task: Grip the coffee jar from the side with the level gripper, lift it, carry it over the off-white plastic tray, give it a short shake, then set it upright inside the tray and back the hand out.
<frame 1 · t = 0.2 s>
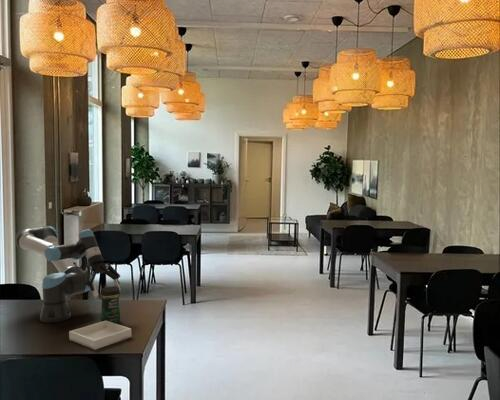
hand: (108, 293, 241), 15 cm above the table, tool tilted 35°, fingers open, 13 cm apart
tray: (100, 338, 219), on the table
coffee jar: (110, 322, 242), on the table
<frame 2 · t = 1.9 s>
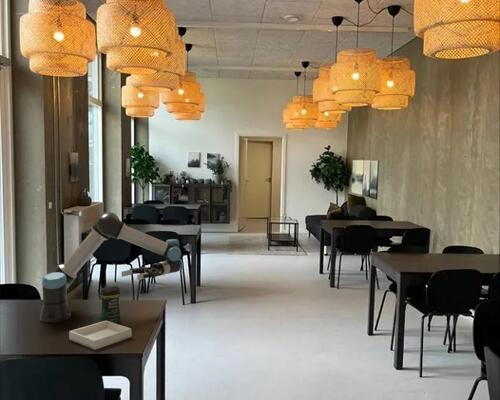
hand: (129, 275, 251), 22 cm above the table, tool horizontal, fingers open, 13 cm apart
nothing on the table moved.
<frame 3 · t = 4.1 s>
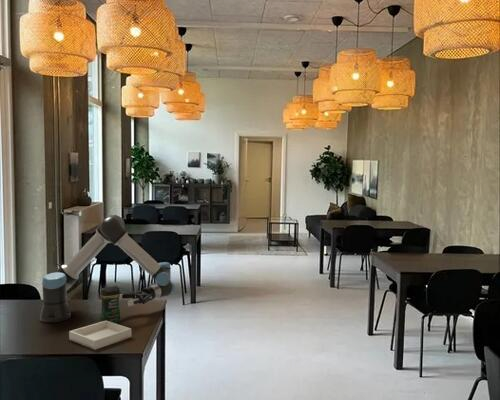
hand: (119, 301, 246), 10 cm above the table, tool horizontal, fingers open, 13 cm apart
nothing on the table moved.
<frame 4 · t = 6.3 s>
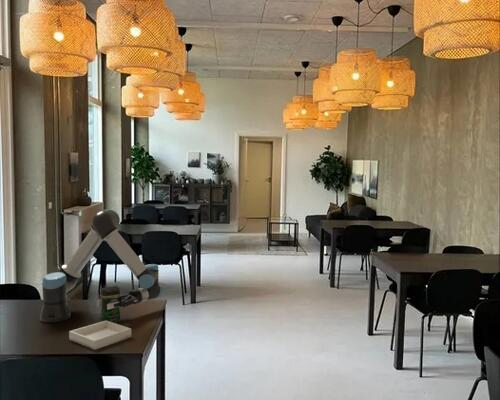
hand: (102, 305, 238), 10 cm above the table, tool horizontal, fingers closed on coffee jar, 8 cm apart
coffee jar: (110, 322, 242), on the table, touching gripper
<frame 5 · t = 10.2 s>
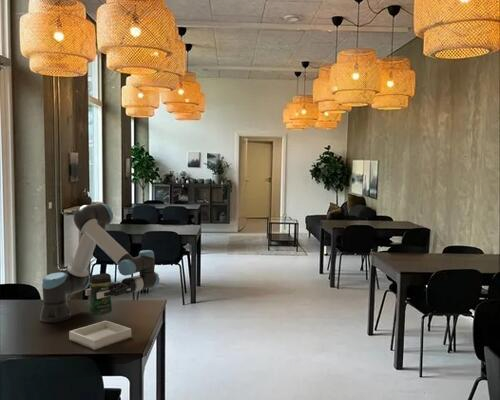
hand: (91, 294, 214), 22 cm above the table, tool horizontal, fingers closed on coffee jar, 8 cm apart
coffee jar: (101, 313, 218), point 12 cm above the table, touching gripper
when the fingers open (12 cm above the table, at t = 14.1 s): coffee jar drops 1 cm, resting on tray.
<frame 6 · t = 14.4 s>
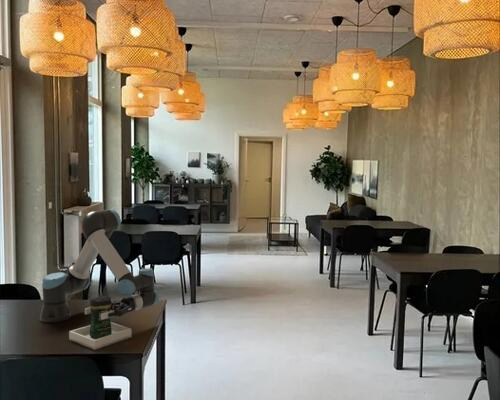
hand: (93, 314, 215), 12 cm above the table, tool horizontal, fingers open, 12 cm apart
coffee jar: (100, 336, 219), point 1 cm above the table, touching tray
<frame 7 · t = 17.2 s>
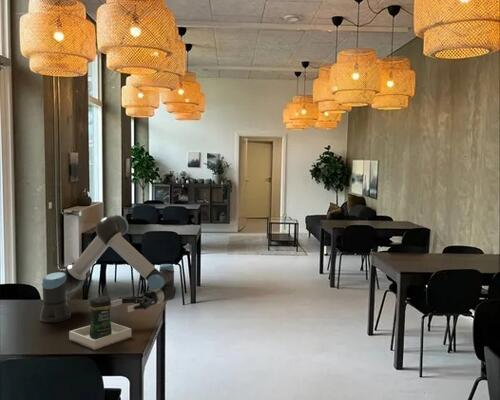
hand: (119, 306, 227), 13 cm above the table, tool horizontal, fingers open, 13 cm apart
nothing on the table moved.
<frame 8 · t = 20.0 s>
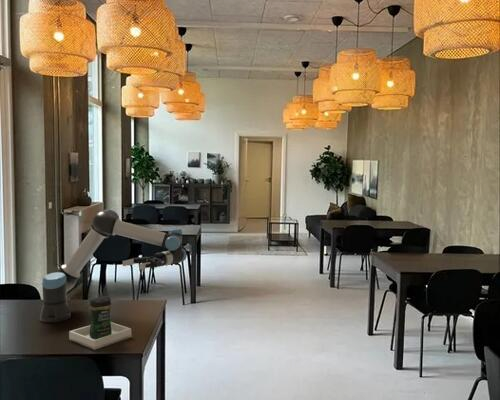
hand: (131, 265, 240), 30 cm above the table, tool horizontal, fingers open, 13 cm apart
nothing on the table moved.
at the end: coffee jar inside the target area on the tray (0.1 cm from its centre), point 0.8 cm above the tray's base; coffee jar tilted 0°; the gripper is holding nothing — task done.
